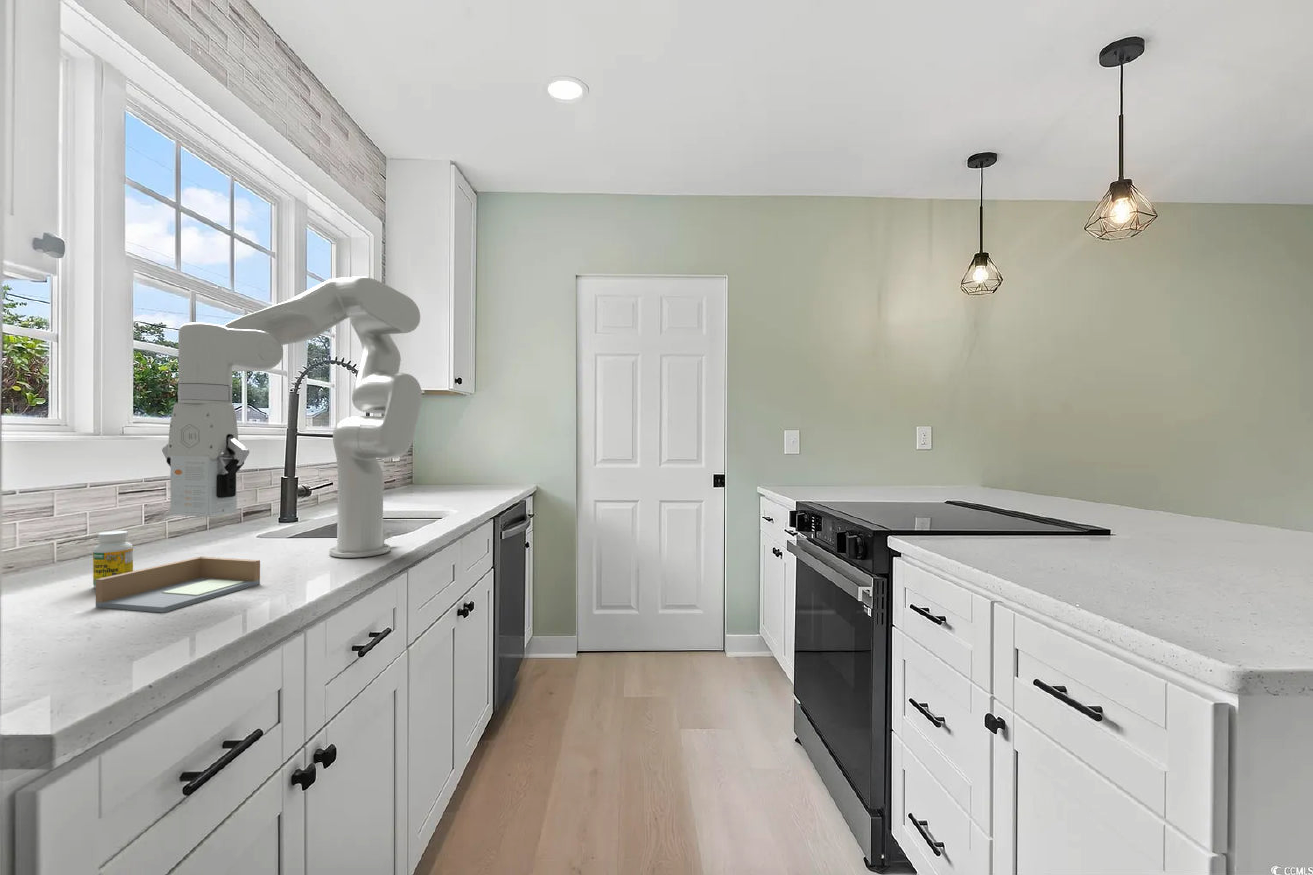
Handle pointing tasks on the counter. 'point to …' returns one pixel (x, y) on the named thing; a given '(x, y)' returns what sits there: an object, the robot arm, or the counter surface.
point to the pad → (203, 587)
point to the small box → (197, 487)
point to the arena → (173, 583)
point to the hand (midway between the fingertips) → (204, 495)
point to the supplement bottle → (112, 555)
